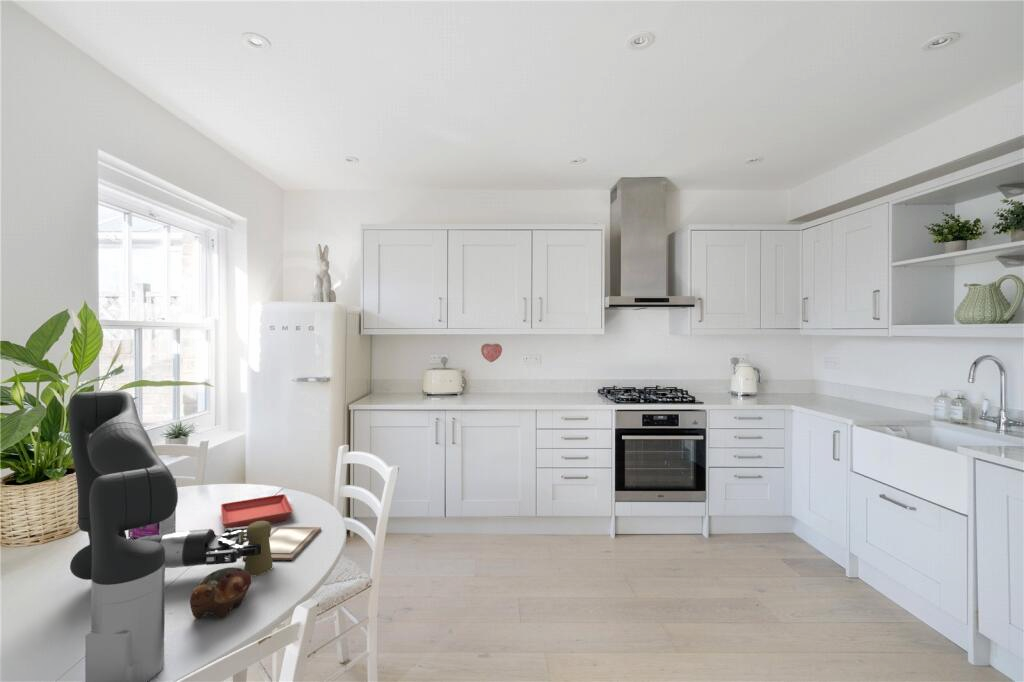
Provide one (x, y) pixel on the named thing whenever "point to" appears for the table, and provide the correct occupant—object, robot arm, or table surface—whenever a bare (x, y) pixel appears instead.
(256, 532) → the cork
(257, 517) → the plant saucer
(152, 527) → the candy bar box
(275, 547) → the brown picture frame
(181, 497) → the table surface
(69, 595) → the table surface
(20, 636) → the table surface
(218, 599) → the brown lumpy oval piece
